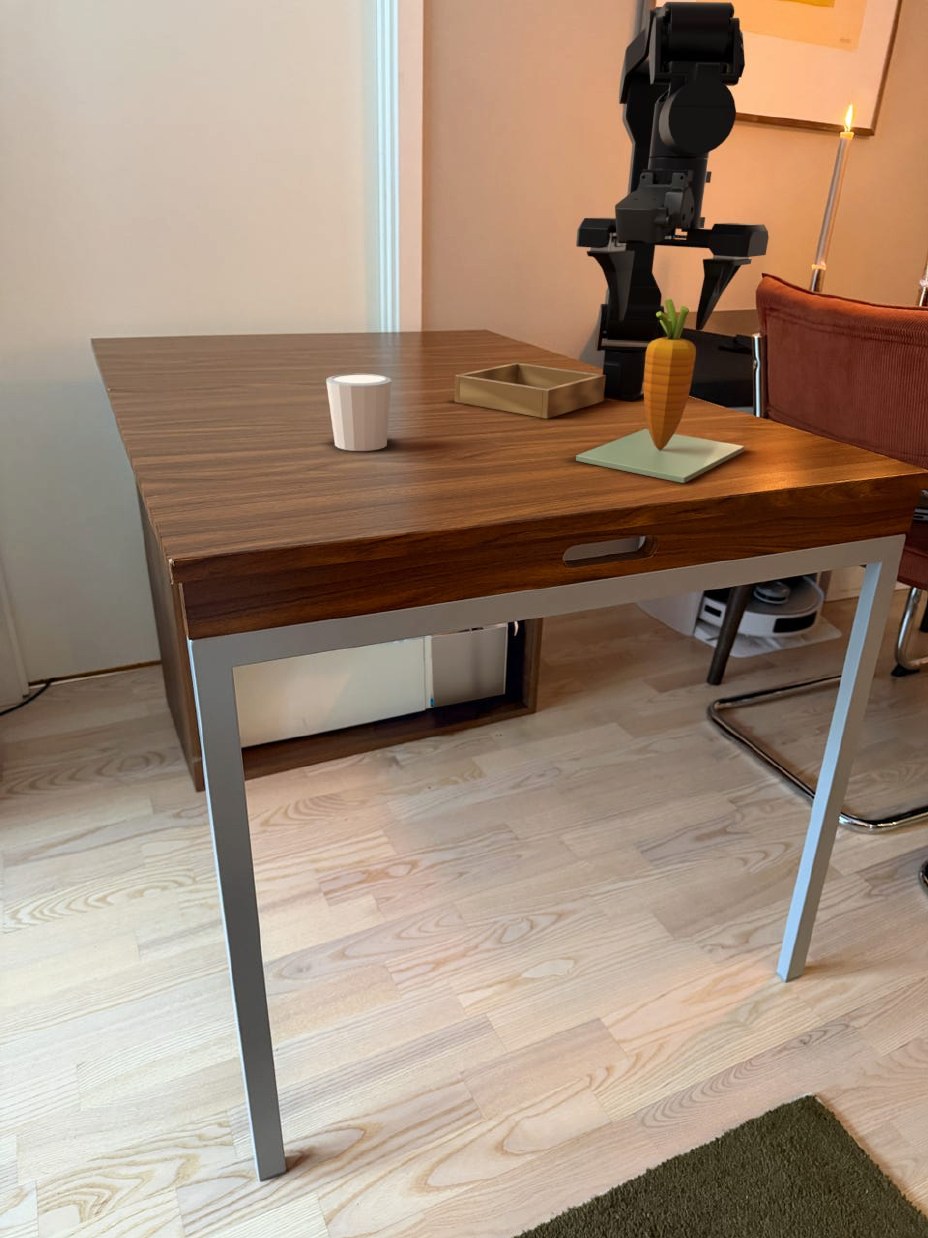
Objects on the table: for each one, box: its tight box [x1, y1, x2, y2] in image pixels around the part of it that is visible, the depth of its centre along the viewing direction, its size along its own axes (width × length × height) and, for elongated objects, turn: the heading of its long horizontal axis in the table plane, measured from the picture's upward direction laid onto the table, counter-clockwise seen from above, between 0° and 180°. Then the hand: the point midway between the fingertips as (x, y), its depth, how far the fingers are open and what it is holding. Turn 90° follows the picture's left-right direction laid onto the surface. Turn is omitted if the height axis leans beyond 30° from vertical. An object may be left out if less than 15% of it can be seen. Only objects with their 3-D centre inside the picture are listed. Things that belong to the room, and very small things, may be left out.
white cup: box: [325, 373, 392, 452], centre depth 89 cm, size 7×7×7 cm
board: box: [575, 428, 745, 484], centre depth 89 cm, size 16×12×1 cm
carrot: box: [643, 298, 697, 450], centre depth 86 cm, size 5×5×15 cm
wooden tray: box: [454, 362, 606, 419], centre depth 112 cm, size 15×15×4 cm
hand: (658, 325), depth 89 cm, fingers open, 9 cm apart
